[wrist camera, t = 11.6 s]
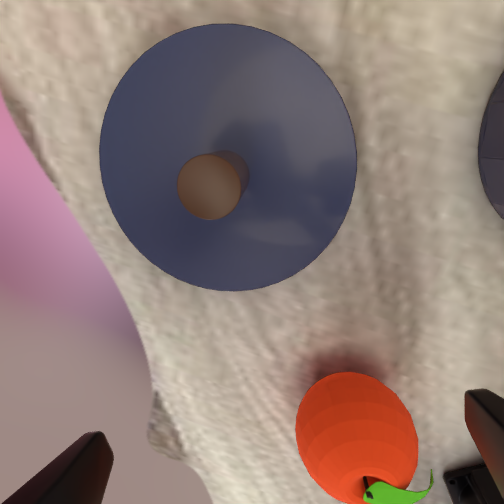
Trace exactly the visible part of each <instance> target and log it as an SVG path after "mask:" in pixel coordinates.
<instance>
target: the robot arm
mask: <svg viewBox="0 0 504 504" xmlns="http://www.w3.org/2000/svg"><path fill="white" fill-rule="evenodd" d="M465 422H466V425H467V428H468V430H469V432H470V434H471V436H472V438H473V440H474V442H475V444H476V446H477V448H478V450H479V452H480V454H481V456H482V458H483V460H484V462H485V464H482V465H478V466H473V467H469V468H465V469H461V470H456V471H452V472H448V473H446V474H444V476H443V479H444V482H445V484H446V487H447V489H448V492H449V494H450V497H451V499H452V502H453V504H504V399H503V398H502V397H500V396H498V395H496V394H495V393H493V392H491V391H489V390H487V389H474V390H468V391H466V392H465ZM113 461H114V455H113V451H112V449H111V447H110V445H109V443H108V441H107V439H106V437H105V435H104V433H102V432H100V431H97V432H88V433H86V434H84V435H83V436H81V437H80V438H79V439H78V440H77V441H75V442H74V443H73V444H72V445H71V446H70V447H68V448H67V449H66V450H65V451H64V452H62V453H61V454H60V455H59V456H58V457H56V458H55V459H54V460H53V461H52V462H51V463H49V464H48V465H47V466H46V467H45V468H43V469H42V470H41V471H40V472H39V473H37V474H36V475H35V476H34V477H33V478H32V479H30V480H29V481H28V482H27V483H25V484H24V485H23V486H22V487H21V488H20V489H18V490H17V491H16V492H15V493H14V494H12V495H11V496H10V497H9V498H8V499H6V500H5V501H4V502H3V503H2V504H101V503H102V499H103V496H104V493H105V489H106V486H107V482H108V479H109V476H110V472H111V469H112V465H113Z"/></svg>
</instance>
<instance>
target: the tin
mask: <svg viewBox="0 0 504 504" xmlns="http://www.w3.org/2000/svg"><path fill="white" fill-rule="evenodd" d="M478 159H479V169H480V175H481V180H482V183H483V186H484V189H485V192H486V194H487V196H488V198H489V200H490V202H491V204H492V206H493V207H494V208H495V210H496V211H497V212H498V213H499V215H500V216H501V217H502V218H503V219H504V72H503V74H502V75H501V77H500V79H499V81H498V83H497V85H496V87H495V89H494V91H493V93H492V95H491V97H490V100H489V103H488V105H487V108H486V111H485V114H484V118H483V122H482V126H481V130H480V137H479V146H478Z"/></svg>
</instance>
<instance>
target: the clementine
mask: <svg viewBox="0 0 504 504" xmlns="http://www.w3.org/2000/svg"><path fill="white" fill-rule="evenodd" d="M295 430H296V441H297V445H298V450H299V454H300V456H301V458H302V460H303V463H304V465H305V466H306V468H307V470H308V472H309V474H310V476H311V477H312V478H313V479H314V480H315V481H316V483H317V484H318V485H319V486H320V487H321V488H322V489H323V490H324V491H326V492H327V493H328V494H329V495H331V496H332V497H334V498H335V499H337V500H339V501H342V502H345V503H347V504H413V503H415V502H417V501H419V500H420V499H422V498H423V497H425V496H426V494H427V493H428V492H429V490H430V489H431V487H432V484H433V474H432V469H431V479H430V486H429V488H428V489H427V490H424V491H420V492H413V491H408V490H405V489H406V488H407V487H408V486H409V484H410V482H411V480H412V477H413V475H414V473H415V470H416V468H417V463H418V437H417V434H416V431H415V427H414V424H413V421H412V418H411V415H410V413H409V412H408V410H407V409H406V407H405V406H404V404H403V403H402V402H401V400H400V399H399V398H398V396H397V395H396V393H394V392H393V391H392V390H390V389H389V388H388V387H386V386H385V385H384V384H383V383H381V382H380V381H379V380H377V379H375V378H373V377H370V376H368V375H365V374H360V373H354V372H338V373H334V374H330V375H328V376H326V377H324V378H322V379H321V380H319V381H318V382H316V383H315V384H314V385H313V386H312V387H311V388H310V389H309V390H308V391H307V393H306V394H305V396H304V397H303V399H302V402H301V404H300V406H299V409H298V413H297V417H296V428H295Z"/></svg>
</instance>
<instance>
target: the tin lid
mask: <svg viewBox="0 0 504 504" xmlns="http://www.w3.org/2000/svg"><path fill="white" fill-rule="evenodd" d="M99 154H100V170H101V177H102V183H103V186H104V190H105V194H106V197H107V200H108V203H109V205H110V208H111V210H112V213H113V215H114V216H115V218H116V220H117V222H118V224H119V226H120V227H121V229H122V230H123V232H124V233H125V235H126V236H127V237H128V239H129V240H130V241H131V243H132V244H133V245H134V246H135V247H136V248H137V249H138V250H139V252H140V253H142V254H143V255H144V256H145V257H146V258H147V259H148V260H149V261H150V262H152V263H153V264H154V265H156V266H157V267H159V268H160V269H161V270H163V271H164V272H166V273H168V274H170V275H171V276H173V277H175V278H177V279H179V280H182V281H184V282H186V283H189V284H191V285H195V286H198V287H202V288H206V289H212V290H218V291H246V290H253V289H258V288H263V287H266V286H269V285H272V284H275V283H278V282H280V281H282V280H285V279H287V278H289V277H291V276H293V275H294V274H296V273H297V272H299V271H300V270H302V269H304V268H305V267H306V266H307V265H309V264H310V263H311V262H312V261H313V260H315V259H316V258H317V257H318V256H319V255H320V254H321V253H322V252H323V250H324V249H325V248H326V247H327V246H328V245H329V243H330V242H331V241H332V239H333V238H334V236H335V235H336V234H337V232H338V230H339V228H340V226H341V225H342V223H343V221H344V219H345V216H346V214H347V211H348V209H349V206H350V204H351V200H352V196H353V192H354V188H355V181H356V172H357V150H356V143H355V136H354V131H353V127H352V124H351V120H350V117H349V114H348V111H347V109H346V107H345V104H344V102H343V100H342V97H341V96H340V94H339V92H338V91H337V89H336V87H335V86H334V84H333V83H332V81H331V80H330V78H329V77H328V76H327V75H326V73H325V72H324V71H323V70H322V69H321V67H320V66H319V65H318V64H317V63H316V62H315V61H314V60H313V59H311V58H310V57H309V56H308V55H307V54H306V53H305V52H304V51H302V50H301V49H299V48H298V47H296V46H295V45H293V44H292V43H291V42H289V41H287V40H285V39H283V38H281V37H279V36H277V35H275V34H273V33H271V32H268V31H265V30H261V29H258V28H255V27H252V26H245V25H238V24H209V25H203V26H197V27H193V28H190V29H187V30H184V31H181V32H178V33H175V34H173V35H171V36H170V37H168V38H166V39H164V40H162V41H160V42H158V43H157V44H156V45H154V46H153V47H152V48H150V49H149V50H147V51H146V52H145V53H144V54H143V55H142V56H141V57H140V58H139V59H138V60H137V61H136V62H135V63H134V64H133V65H132V66H131V67H130V68H129V69H128V71H127V72H126V73H125V75H124V76H123V77H122V79H121V80H120V82H119V84H118V86H117V87H116V89H115V91H114V93H113V95H112V96H111V99H110V102H109V104H108V107H107V110H106V112H105V116H104V120H103V124H102V129H101V136H100V146H99Z"/></svg>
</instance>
